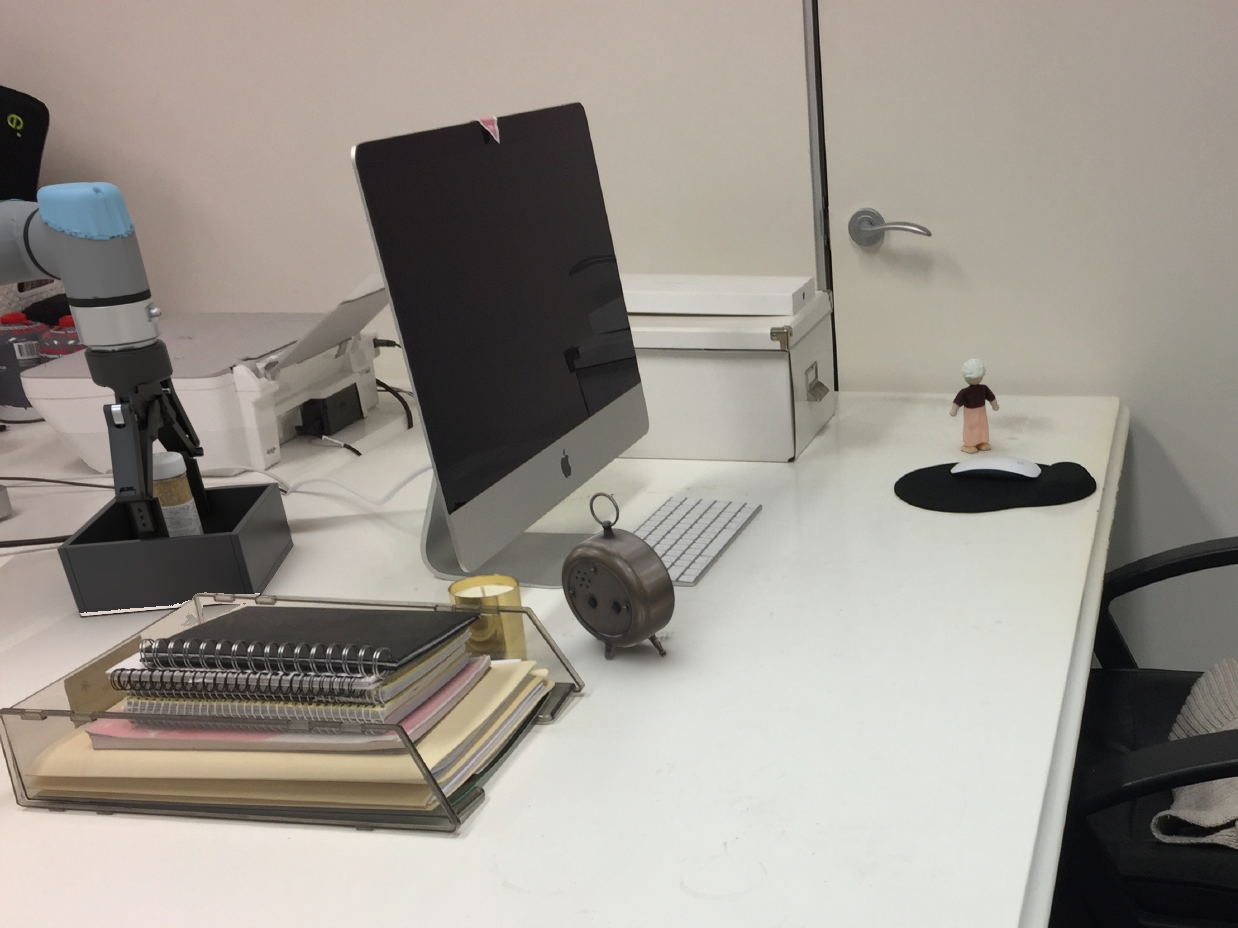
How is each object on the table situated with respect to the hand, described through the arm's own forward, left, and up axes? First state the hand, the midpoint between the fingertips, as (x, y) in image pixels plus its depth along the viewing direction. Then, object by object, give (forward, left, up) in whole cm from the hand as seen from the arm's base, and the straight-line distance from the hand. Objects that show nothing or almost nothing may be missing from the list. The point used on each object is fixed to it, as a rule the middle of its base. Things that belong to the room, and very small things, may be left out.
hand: (180, 535), depth 145 cm
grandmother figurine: (+96, +25, -5) cm, 99 cm away
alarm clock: (+48, -31, -5) cm, 58 cm away
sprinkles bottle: (0, 0, -5) cm, 5 cm away
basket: (0, 0, -5) cm, 5 cm away
